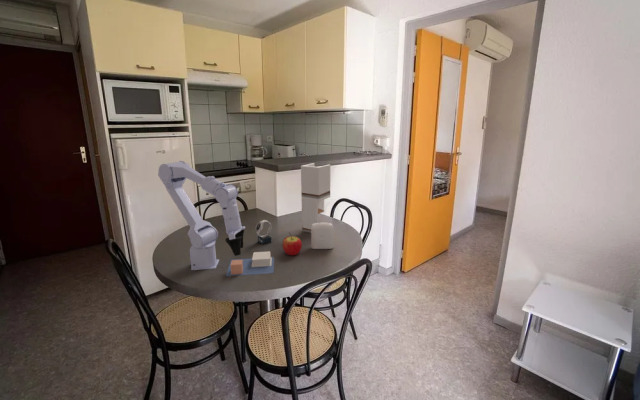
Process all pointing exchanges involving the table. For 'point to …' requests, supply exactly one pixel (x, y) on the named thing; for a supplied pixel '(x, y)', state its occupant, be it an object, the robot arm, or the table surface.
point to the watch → (263, 238)
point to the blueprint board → (253, 268)
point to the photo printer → (322, 235)
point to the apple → (292, 245)
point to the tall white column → (313, 193)
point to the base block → (261, 258)
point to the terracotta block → (236, 267)
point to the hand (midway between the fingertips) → (239, 251)
